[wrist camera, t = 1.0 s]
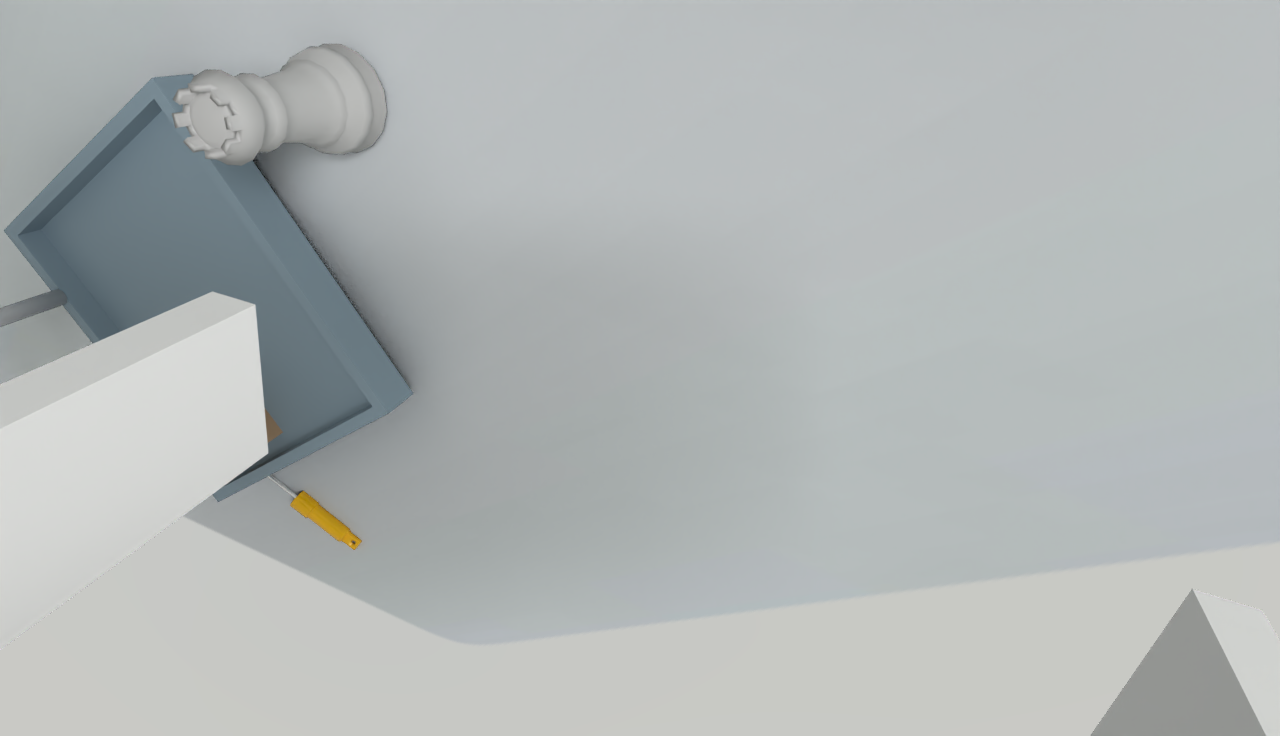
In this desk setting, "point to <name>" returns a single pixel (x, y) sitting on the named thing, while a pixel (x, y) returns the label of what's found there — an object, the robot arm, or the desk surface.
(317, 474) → the desk surface
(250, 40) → the desk surface
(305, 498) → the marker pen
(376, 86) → the rook chess piece
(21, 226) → the tray
